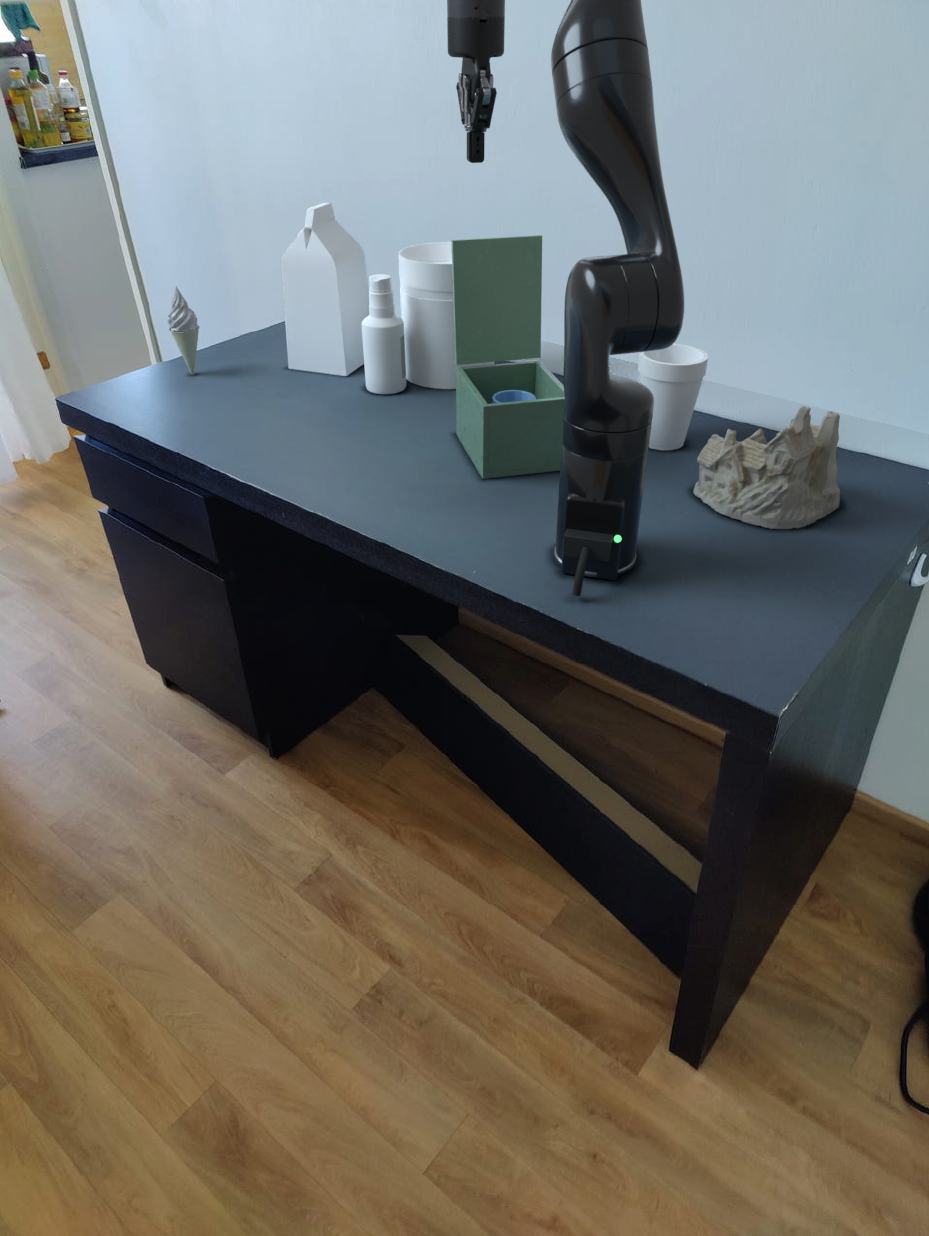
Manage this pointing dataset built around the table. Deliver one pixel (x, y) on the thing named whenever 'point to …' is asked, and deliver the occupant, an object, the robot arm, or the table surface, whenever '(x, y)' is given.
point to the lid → (497, 298)
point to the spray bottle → (383, 340)
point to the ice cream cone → (184, 329)
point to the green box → (510, 419)
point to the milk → (324, 296)
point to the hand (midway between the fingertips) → (475, 161)
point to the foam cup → (672, 391)
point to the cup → (512, 396)
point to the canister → (429, 315)
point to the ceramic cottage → (773, 474)
